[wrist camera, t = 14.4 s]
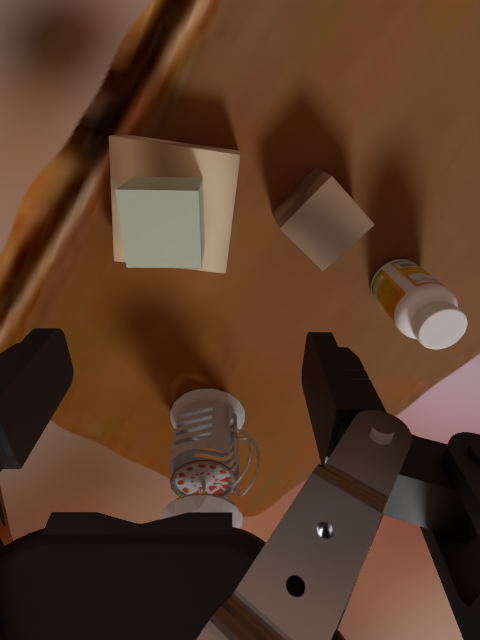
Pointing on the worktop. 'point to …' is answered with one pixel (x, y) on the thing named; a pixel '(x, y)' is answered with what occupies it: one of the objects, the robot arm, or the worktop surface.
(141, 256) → the green cube
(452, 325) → the supplement bottle
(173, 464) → the french press
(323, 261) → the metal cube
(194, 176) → the pine block
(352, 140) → the worktop surface
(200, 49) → the worktop surface
